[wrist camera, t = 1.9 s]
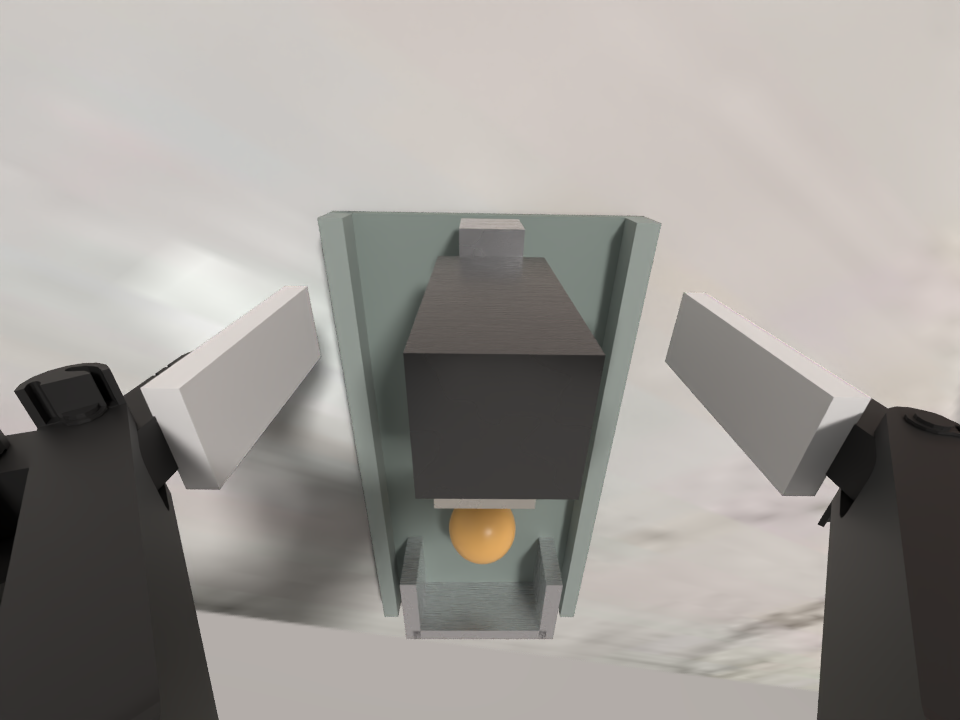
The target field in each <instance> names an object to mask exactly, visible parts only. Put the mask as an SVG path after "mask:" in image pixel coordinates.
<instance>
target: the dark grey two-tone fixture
mask: <svg viewBox="0 0 960 720" xmlns="http://www.w3.org/2000/svg"><path fill="white" fill-rule="evenodd" d="M524 237H525V229H524V227H523V225H522V224H521V222H520V220H519V219H475V218H461V222H460V227H459V256H438V257H437V260H436V263H435V266H434V268H433V271H432V274H431V277H430V280H429V282H428V285H427V288H426V291H425V294H424V296H423V299H422V302H421V305H420V307H419V310H418V313H417V316H416V319H415V321H414V324H413V327H412V330H411V332H410V335H409V338H408V341H407V344H406V346H405V349H404V352H403V357H404V369H405V381H406V393H407V405H408V417H409V428H410V440H411V452H412V464H413V476H414V488H415V499H434V508H461V509H535V503H536V499H554V500H579V494H580V489H581V484H582V478H583V473H584V468H585V462H586V457H587V452H588V446H589V441H590V436H591V430H592V425H593V420H594V414H595V409H596V404H597V398H598V393H599V388H600V382H601V377H602V372H603V366H604V361H605V356H606V355H605V353H604V352H603V350H602V349H601V347H600V346H599V344H598V342H597V341H596V339H595V338H594V336H593V334H592V333H591V331H590V330H589V328H588V326H587V325H586V323H585V322H584V320H583V318H582V317H581V315H580V314H579V312H578V310H577V309H576V307H575V306H574V304H573V302H572V301H571V299H570V298H569V296H568V294H567V293H566V291H565V290H564V288H563V286H562V285H561V283H560V282H559V280H558V278H557V277H556V275H555V274H554V272H553V270H552V269H551V267H550V266H549V264H548V262H547V261H546V259H545V258H544V257H523V252H524Z"/></svg>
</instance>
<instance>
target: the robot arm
mask: <svg viewBox="0 0 960 720" xmlns="http://www.w3.org/2000/svg"><path fill="white" fill-rule="evenodd" d="M320 357H321V354H320V349H319V343H318V338H317V333H316V328H315V323H314V318H313V313H312V308H311V303H310V297H309V292H308V287H307V286H284V287H283V288H281V289H280V290H279V291H277V292H276V293H274V294H273V295H271V296H270V297H269V298H267V299H266V300H264V301H263V302H262V303H260V304H259V305H257V306H256V307H254V308H253V309H252V310H250V311H249V312H247V313H246V314H245V315H243V316H242V317H240V318H239V319H237V320H236V321H235V322H233V323H232V324H230V325H229V326H228V327H226V328H225V329H223V330H222V331H220V332H219V333H218V334H216V335H215V336H213V337H212V338H211V339H209V340H208V341H206V342H205V343H203V344H202V345H201V346H199V347H198V348H196V349H195V350H193V351H191V352H189V353H186V354H184V355H182V356H180V357H179V358H177V359H176V360H175V361H173V362H172V363H170V364H169V365H167V366H168V367H164V368H163V369H162V370H160V371H159V372H157V373H156V376H151V377H150V378H149V379H147V380H146V381H144V382H143V383H141V384H140V385H139V386H137V387H136V388H134V389H133V390H131V391H130V392H128V393H127V394H126V395H124V396H123V395H122V393H121V391H120V389H119V387H118V385H117V383H116V380H115V378H114V376H113V374H112V372H111V370H110V368H109V367H108V366H107V365H106V364H100V363H82V364H76V365H70V366H65V367H61V368H57V369H54V370H50V371H47V372H45V373H42V374H39V375H37V376H34V377H32V378H30V379H28V380H27V381H25V382H23V383H22V384H20V385H19V386H18V387H17V388H16V389H15V391H14V392H15V394H16V395H17V397H18V398H19V400H20V401H21V403H22V405H23V406H24V408H25V409H26V411H27V412H28V414H29V416H30V417H31V419H32V420H33V422H34V423H35V425H36V426H37V431H32V432H26V433H19V434H13V435H7V436H5V435H4V434H3V433H2V431H1V430H0V720H219V719H218V715H217V710H216V705H215V700H214V696H213V691H212V686H211V681H210V677H209V672H208V667H207V662H206V658H205V653H204V648H203V643H202V639H201V634H200V629H199V625H198V620H197V615H196V610H195V605H194V601H193V596H192V591H191V586H190V582H189V577H188V572H187V567H186V563H185V558H184V553H183V549H182V544H181V539H180V534H179V530H178V525H177V520H176V515H175V511H174V506H173V501H172V496H171V493H170V491H169V489H168V487H167V485H166V483H165V482H166V481H167V480H168V479H169V478H170V477H171V476H172V475H173V474H174V473H175V472H176V471H177V470H178V472H179V474H180V476H181V478H182V481H183V483H184V485H185V487H186V489H211V490H220V489H221V487H222V486H223V485H224V483H225V482H226V481H227V479H228V478H229V477H230V475H231V474H232V473H233V472H234V470H235V469H236V468H237V466H238V465H239V464H240V462H241V461H242V460H243V458H244V457H245V456H246V454H247V453H248V452H249V451H250V449H251V448H252V447H253V445H254V444H255V443H256V441H257V440H258V439H259V437H260V436H261V435H262V433H263V432H264V431H265V430H266V428H267V427H268V426H269V424H270V423H271V422H272V420H273V419H274V418H275V416H276V415H277V414H278V412H279V411H280V410H281V409H282V407H283V406H284V405H285V403H286V402H287V401H288V399H289V398H290V397H291V395H292V394H293V393H294V391H295V390H296V389H297V388H298V386H299V385H300V384H301V382H302V381H303V380H304V378H305V377H306V376H307V374H308V373H309V372H310V370H311V369H312V368H313V367H314V365H315V364H316V363H317V361H318V360H319V359H320ZM665 362H666V363H667V364H668V365H669V367H670V368H671V369H672V370H673V371H674V372H675V373H676V375H677V376H678V377H679V378H680V379H681V380H682V381H683V383H684V384H685V385H686V386H687V387H688V388H689V389H690V391H691V392H692V393H693V394H694V395H695V396H696V397H697V399H698V400H699V401H700V402H701V403H702V404H703V405H704V407H705V408H706V409H707V410H708V411H709V412H710V413H711V415H712V416H713V417H714V418H715V419H716V420H717V422H718V423H719V424H720V425H721V426H722V427H723V428H724V430H725V431H726V432H727V433H728V434H729V435H730V436H731V438H732V439H733V440H734V441H735V442H736V443H737V444H738V446H739V447H740V448H741V449H742V450H743V451H744V452H745V454H746V455H747V456H748V457H749V458H750V459H751V460H752V462H753V463H754V464H755V465H756V466H757V467H758V468H759V470H760V471H761V472H762V473H763V474H764V475H765V476H766V478H767V479H768V480H769V481H770V482H771V483H772V484H773V486H774V487H775V488H776V489H777V490H778V491H779V492H780V494H781V495H782V496H815V495H816V493H817V491H818V490H819V488H820V486H821V484H822V483H823V481H824V479H825V478H826V476H828V477H829V478H830V479H831V480H832V481H833V482H834V483H835V484H836V485H837V486H838V487H839V490H838V492H837V493H836V495H835V497H834V498H833V500H832V501H831V503H830V505H829V506H828V508H827V510H826V511H825V513H824V514H823V516H822V518H821V519H820V521H819V523H818V525H820V526H823V527H824V526H825V524H826V523H827V522H830V535H829V550H828V565H827V580H826V594H825V609H824V624H823V639H822V654H821V669H820V684H819V699H818V713H817V720H960V424H958V423H956V422H954V421H951V420H949V419H947V418H945V417H943V416H941V415H938V414H935V413H932V412H928V411H924V410H919V409H915V408H910V407H892V408H886V407H885V406H883V405H881V404H880V403H878V402H877V401H875V400H874V399H872V398H871V397H869V396H868V395H866V394H865V393H863V392H862V391H860V390H858V389H857V388H855V387H854V386H852V385H851V384H849V383H847V382H846V381H844V380H843V379H841V378H840V377H838V376H836V375H835V374H833V373H832V372H830V371H828V370H827V369H825V368H824V367H822V366H821V365H819V364H817V363H816V362H814V361H813V360H811V359H810V358H808V357H806V356H805V355H803V354H802V353H800V352H799V351H797V350H795V349H794V348H792V347H791V346H789V345H787V344H786V343H784V342H783V341H781V340H780V339H778V338H776V337H775V336H773V335H772V334H770V333H769V332H767V331H765V330H764V329H762V328H761V327H759V326H758V325H756V324H754V323H753V322H751V321H750V320H748V319H747V318H745V317H743V316H742V315H740V314H739V313H737V312H735V311H734V310H732V309H731V308H729V307H728V306H726V305H724V304H723V303H721V302H720V301H718V300H717V299H715V298H713V297H712V296H710V295H709V294H707V293H706V292H684V293H683V297H682V300H681V304H680V308H679V312H678V315H677V319H676V323H675V326H674V330H673V334H672V337H671V341H670V345H669V349H668V352H667V356H666V360H665Z"/></svg>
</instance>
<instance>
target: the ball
mask: <svg viewBox="0 0 960 720" xmlns="http://www.w3.org/2000/svg"><path fill="white" fill-rule="evenodd" d="M515 531H516V527H515V519H514V516H513V513H512V511H511V509H461V508H454V510H453V512H452V514H451V517H450V522H449V534H450V538H451V542H452V544H453V546H454V548H455V549H456V551H457V552H458V553H459V554H460V555H461V556H462V557H463V558H464V559H466V560H468V561H470V562H472V563H476V564H489V563H493V562H495V561H497V560H499V559H500V558H502V557H503V556H504V555H505V554H506V553H507V552H508V550H509V549H510V547H511V545H512V543H513V541H514V537H515Z"/></svg>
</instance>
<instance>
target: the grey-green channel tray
mask: <svg viewBox="0 0 960 720" xmlns="http://www.w3.org/2000/svg"><path fill="white" fill-rule="evenodd" d="M461 218H475V219H519V220H520V222H521V224H522V225H523V227H524V229H525V237H524V252H523V257H544V258H545V259H546V261H547V262H548V264H549V266H550V267H551V269H552V270H553V272H554V274H555V275H556V277H557V278H558V280H559V282H560V283H561V285H562V286H563V288H564V290H565V291H566V293H567V294H568V296H569V298H570V299H571V301H572V302H573V304H574V306H575V307H576V309H577V310H578V312H579V314H580V315H581V317H582V318H583V320H584V322H585V323H586V325H587V326H588V328H589V330H590V331H591V333H592V334H593V336H594V338H595V339H596V341H597V342H598V344H599V346H600V347H601V349H602V350H603V352H604V353H605V355H606V356H605V361H604V366H603V372H602V377H601V382H600V388H599V393H598V398H597V404H596V409H595V414H594V420H593V425H592V430H591V436H590V441H589V446H588V452H587V457H586V462H585V468H584V473H583V478H582V484H581V489H580V494H579V500H554V499H536V503H535V509H511V511H512V513H513V516H514V519H515V527H516V531H515V537H514V541H513V543H512V545H511V547H510V549H509V550H508V552H507V553H506V554H505V555H504V556H503V557H502V558H500V559H499V560H497V561H495V562H493V563H489V564H476V563H472V562H470V561H468V560H466V559H464V558H463V557H462V556H461V555H460V554H459V553H458V552H457V551H456V549H455V548H454V546H453V544H452V542H451V538H450V534H449V522H450V517H451V514H452V512H453V510H454V508H434V499H415V488H414V476H413V464H412V452H411V440H410V428H409V417H408V405H407V393H406V381H405V369H404V357H403V352H404V349H405V346H406V344H407V341H408V338H409V335H410V332H411V330H412V327H413V324H414V321H415V319H416V316H417V313H418V310H419V307H420V305H421V302H422V299H423V296H424V294H425V291H426V288H427V285H428V282H429V280H430V277H431V274H432V271H433V268H434V266H435V263H436V260H437V257H438V256H459V227H460V222H461ZM317 219H318V225H319V231H320V237H321V243H322V249H323V255H324V260H325V266H326V272H327V278H328V284H329V290H330V296H331V302H332V308H333V314H334V320H335V326H336V332H337V338H338V343H339V349H340V355H341V361H342V367H343V373H344V379H345V385H346V391H347V397H348V403H349V409H350V415H351V420H352V426H353V432H354V438H355V444H356V450H357V456H358V462H359V468H360V474H361V480H362V486H363V492H364V497H365V503H366V509H367V515H368V521H369V527H370V533H371V539H372V545H373V551H374V557H375V563H376V569H377V574H378V580H379V586H380V592H381V598H382V604H383V610H384V616H385V617H398V615H399V609H400V603H401V592H400V580H401V574H402V569H403V563H404V557H405V552H406V546H407V540H408V537H423V547H424V560H425V573H426V582H533V579H534V571H535V563H536V556H537V548H538V540H539V537H553V538H554V543H555V548H556V553H557V559H558V564H559V569H560V574H561V579H562V584H563V587H562V592H561V598H560V603H559V613H560V617H574V613H575V608H576V604H577V599H578V595H579V590H580V586H581V581H582V577H583V572H584V568H585V563H586V559H587V554H588V550H589V546H590V541H591V537H592V532H593V528H594V523H595V519H596V514H597V510H598V505H599V501H600V496H601V492H602V487H603V483H604V478H605V474H606V469H607V465H608V460H609V456H610V451H611V447H612V443H613V438H614V434H615V429H616V425H617V420H618V416H619V411H620V407H621V402H622V398H623V393H624V389H625V384H626V380H627V375H628V371H629V366H630V362H631V357H632V353H633V349H634V344H635V340H636V335H637V331H638V326H639V322H640V317H641V313H642V308H643V304H644V299H645V295H646V290H647V286H648V281H649V277H650V272H651V268H652V263H653V259H654V255H655V250H656V246H657V241H658V237H659V232H660V228H661V223H659V222H657V221H654V220H652V219H649V218H647V217H644V216H605V215H545V214H485V213H424V212H364V211H332V212H330V213H327V214H325V215H323V216H320V217H318V218H317Z"/></svg>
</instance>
